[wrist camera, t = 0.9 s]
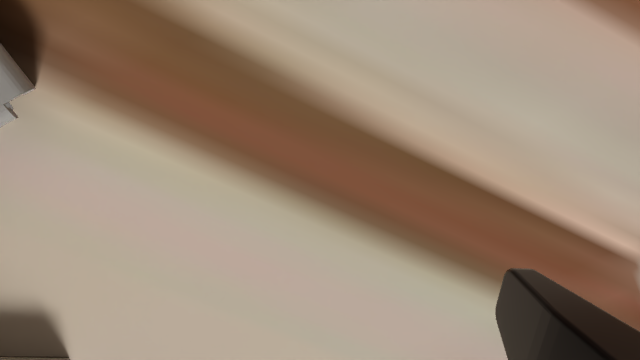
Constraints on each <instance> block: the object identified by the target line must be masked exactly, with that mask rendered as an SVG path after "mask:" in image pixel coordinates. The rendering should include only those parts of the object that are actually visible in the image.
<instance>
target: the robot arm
mask: <svg viewBox="0 0 640 360" xmlns="http://www.w3.org/2000/svg"><path fill="white" fill-rule="evenodd" d="M496 320H497V324H498V328H499V331H500V334H501V338H502V341H503V344H504V348H505V351H506V354H507V358H508V360H640V332H639V331H638V330H636V329H634V328H632V327H631V326H629V325H627V324H626V323H624V322H622V321H621V320H619V319H617V318H615V317H614V316H612V315H610V314H609V313H607V312H605V311H603V310H602V309H600V308H598V307H597V306H595V305H593V304H592V303H590V302H588V301H586V300H585V299H583V298H581V297H580V296H578V295H576V294H575V293H573V292H571V291H569V290H568V289H566V288H564V287H563V286H561V285H559V284H557V283H556V282H554V281H552V280H551V279H549V278H547V277H546V276H544V275H542V274H540V273H539V272H537V271H535V270H533V269H516V268H511V269H509V270H507V271H506V273H505V275H504V278H503V282H502V285H501V289H500V293H499V297H498V300H497V304H496Z"/></svg>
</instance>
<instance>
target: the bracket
mask: <svg viewBox="0 0 640 360" xmlns="http://www.w3.org/2000/svg"><path fill="white" fill-rule="evenodd" d="M35 89H36V88H35V86H34V85H33V84H32V83H31V81H30V80H29V79H28V78H27V76H26V75H25V74H24V72H23V71H22V70H21V69H20V67H19V66H18V65H17V63H16V62H15V61H14V60H13V58H12V57H11V56H10V54H9V53H8V52H7V51H6V49H5V48H4V47H3V45H2V44H1V43H0V127H2V126H4V125H5V124H7V123H9V122H11V121H12V120H14V119H16V118H18V116H17V115H16V114H15V113H14V111H13V107H12V105H11V104H10V103H9V102H10V101H12V100H13V99H15V98H17V97H19V96H21V95H25V94H27V93H29V92H31V91H33V90H35Z"/></svg>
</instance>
